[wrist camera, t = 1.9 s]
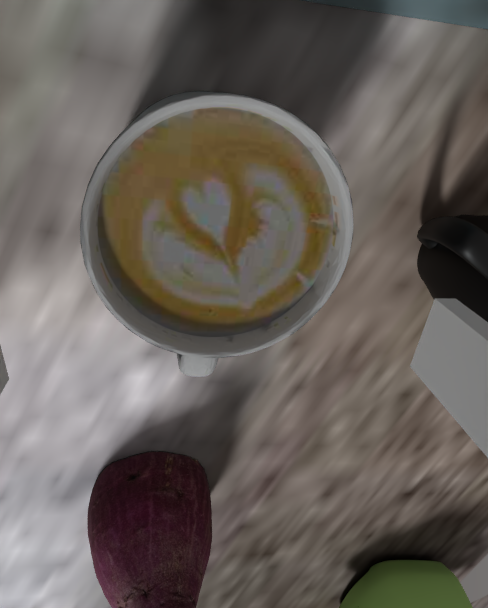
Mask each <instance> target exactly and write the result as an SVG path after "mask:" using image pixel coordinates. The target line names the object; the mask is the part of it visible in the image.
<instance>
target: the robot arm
mask: <svg viewBox="0 0 488 608" xmlns="http://www.w3.org/2000/svg"><path fill="white" fill-rule="evenodd" d="M410 367H411V368H412V369H413V370H414V372H415V373H416V374H417V375H418V376H419V378H420V379H421V380H422V381H423V382H424V383H425V385H426V386H427V387H428V388H429V389H430V390H431V392H432V393H433V394H434V395H435V396H436V398H437V399H438V400H439V401H440V402H441V403H442V405H443V406H444V407H445V408H446V409H447V410H448V412H449V413H450V414H451V415H452V416H453V417H454V419H455V420H456V421H457V422H458V423H459V425H460V426H461V427H462V428H463V429H464V430H465V432H466V433H467V434H468V435H469V436H470V437H471V439H472V440H473V441H474V442H475V443H476V445H477V446H478V447H479V448H480V449H481V450H482V452H483V453H484V454H485V455H486V456H487V457H488V322H487V321H485V320H484V319H483V318H481V317H480V316H479V315H477V314H476V313H475V312H473V311H472V310H470V309H469V308H468V307H466V306H465V305H464V304H462V303H461V302H460V301H458V300H457V299H446V298H435V300H434V302H433V305H432V308H431V311H430V313H429V316H428V319H427V321H426V324H425V327H424V330H423V332H422V335H421V338H420V341H419V343H418V346H417V349H416V351H415V354H414V357H413V360H412V362H411V365H410ZM8 380H9V377H8V373H7V370H6V366H5V362H4V358H3V354H2V350H1V346H0V394H1V392H2V391H3V389H4V387H5V385H6V383H7V382H8Z"/></svg>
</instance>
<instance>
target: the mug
mask: <svg viewBox="0 0 488 608" xmlns="http://www.w3.org/2000/svg"><path fill="white" fill-rule="evenodd" d="M417 237H418V239H419V241H420V242H421V243H422V246H421V248H420V251H419V254H418V261H417V266H418V272H419V274H420V276H421V279H422V280H423V281H424V282H425V284H426V286H427V288H428V290H429V292H430V293H431V295H432V297H433V299H434V300H435V298H446V299H457V300H458V301H460V302H461V303H462V304H464V305H465V306H466V307H468V308H469V309H470V310H472V311H473V312H475V313H476V314H477V315H479V316H480V317H481V318H483V319H484V320H485V321H487V322H488V216H474V215H460V216H456V217H439V218H434V219H432V220H430V221H428V222H426V223H425V224H424V225H423V226H422V227H421V228H420V230H419V231H418V235H417Z"/></svg>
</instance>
